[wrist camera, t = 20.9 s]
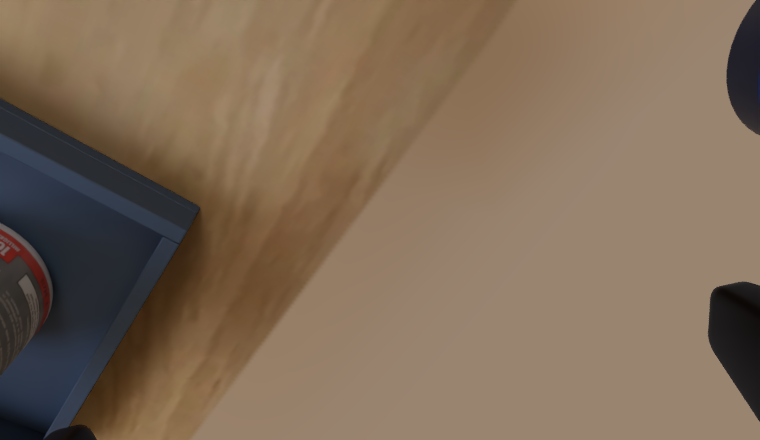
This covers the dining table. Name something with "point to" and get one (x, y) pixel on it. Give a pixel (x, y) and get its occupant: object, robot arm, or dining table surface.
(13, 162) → the tray
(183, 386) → the dining table surface
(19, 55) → the dining table surface
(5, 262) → the pill bottle
